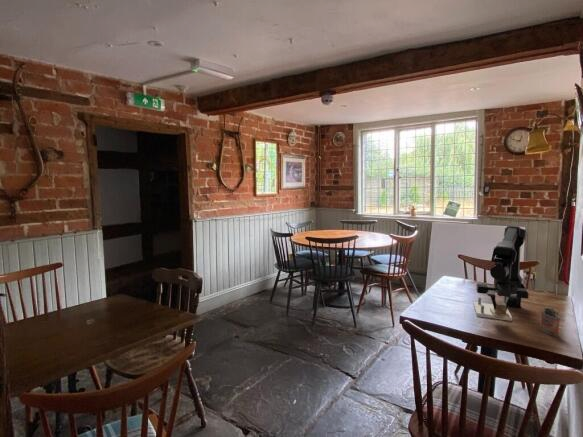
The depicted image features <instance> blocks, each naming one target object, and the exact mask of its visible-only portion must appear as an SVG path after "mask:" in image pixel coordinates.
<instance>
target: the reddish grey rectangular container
mask: <svg viewBox="0 0 583 437" xmlns="http://www.w3.org/2000/svg"><path fill="white" fill-rule="evenodd" d="M559 313H560V312H559V311H558V310H555V309H554V308H552V307H548V306H544V310H541V311H540V314H541V317H540V318H541V319H540V326H539V329H540V330H541V331H543V332H544V333H546V334H547V335H549V336H550V335H551V336H553V337H559V327H560V321H561V317H560V316H559Z"/></svg>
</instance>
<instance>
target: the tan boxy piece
mask: <svg viewBox="0 0 583 437" xmlns="http://www.w3.org/2000/svg"><path fill="white" fill-rule="evenodd" d="M495 302H496V310H494V308H490V311H491V313H492V315H493V317H494V318H501V319H509V320H510V316H509V314H508V312H507V311H506V304H505V303H504V301H503V302H502V301H500V300H495ZM494 318H493V319H494ZM501 319H500V320H501Z"/></svg>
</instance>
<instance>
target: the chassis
mask: <svg viewBox="0 0 583 437" xmlns="http://www.w3.org/2000/svg"><path fill="white" fill-rule="evenodd" d="M499 301H502V302H504V299H503V300H502V299H499ZM473 308H474V312H475V315H476V317H481V318H487V319H494V320H502V321H509V322H513V317H512V315H511V313H510V311H509V309H508V308H507V310H506V311H507V312H508V314H509V316H510V320H509V319H501V318H494V317H493V315H492V313H491V311H490V308H494V307H493V303H486V302H485V303H484V302H482V297H478V300H477V301H473Z"/></svg>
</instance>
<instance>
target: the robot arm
mask: <svg viewBox="0 0 583 437" xmlns="http://www.w3.org/2000/svg"><path fill="white" fill-rule="evenodd" d="M527 233H528V232H527V230H526V229H523V228H521V227H520V226H516V225H507V226H506V227H505V228H504V233H503V238H502V241H500V242H498V243H497V244H496V246H495V247H494V248H493V249H492V250H493V252H492V256H491V260H490V261H491V262H492V263H494V265H493V266H492V267H491V268H490V271H489V274H490V276H491V278H492V279H494V281H493V287H492V286H488V284H486V283H477V284H476V287H475V289H476V293H478V294H484V295H485V294H486V295H487V297H490V299H491V304H493V307H494V310H496V302H495V301H496V294H497V296H498V297H503V302H504V303H505V304H506V310H507V309H508V308H510V307H511V308H517V309H518V308H519V309H522V305H521V304H522V302H521V301H522V299H525V300H528V299H529V296H530V293H529V292H528V290H527V289H526V286H525V283H523V282H524V281H523V280H524V279H523V278H522V276H521V275H520V267H521V266H520V264H521V247H522V246H523V244H524V243H525V241H526V240H527V237H528V236H527V235H528V234H527ZM495 293H496V294H495Z"/></svg>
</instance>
